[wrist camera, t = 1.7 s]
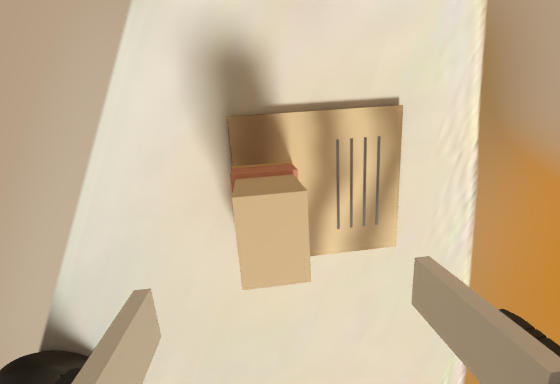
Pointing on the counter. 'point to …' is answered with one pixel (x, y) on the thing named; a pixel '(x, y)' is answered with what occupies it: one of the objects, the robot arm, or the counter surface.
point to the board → (333, 169)
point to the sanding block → (271, 225)
